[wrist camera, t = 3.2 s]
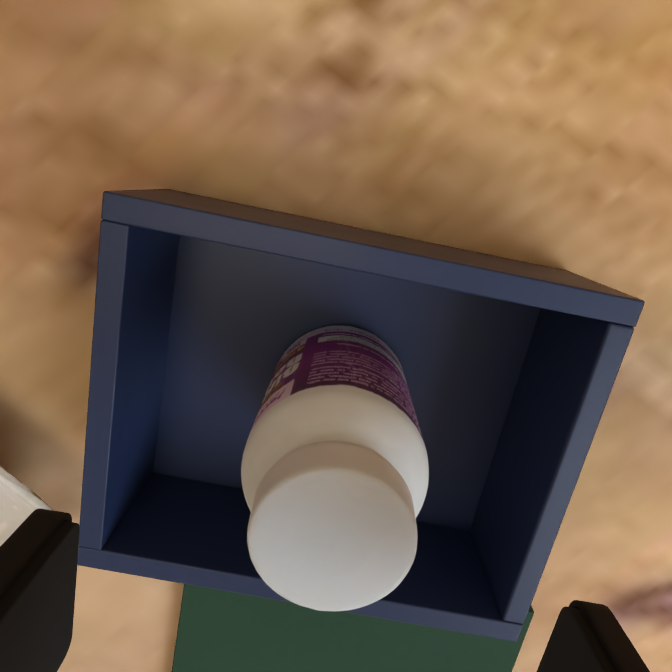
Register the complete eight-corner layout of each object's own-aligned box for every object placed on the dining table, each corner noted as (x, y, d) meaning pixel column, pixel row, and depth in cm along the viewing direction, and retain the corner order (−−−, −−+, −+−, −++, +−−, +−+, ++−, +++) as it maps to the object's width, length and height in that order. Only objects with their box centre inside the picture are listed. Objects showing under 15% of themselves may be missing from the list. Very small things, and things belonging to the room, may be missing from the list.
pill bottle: (277, 314, 20) (220, 424, 11) (413, 329, 20) (468, 450, 11) (268, 438, 22) (211, 626, 13) (394, 452, 22) (428, 647, 13)
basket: (166, 188, 20) (102, 190, 14) (568, 271, 20) (645, 301, 15) (136, 479, 23) (76, 565, 18) (479, 542, 24) (517, 643, 18)
